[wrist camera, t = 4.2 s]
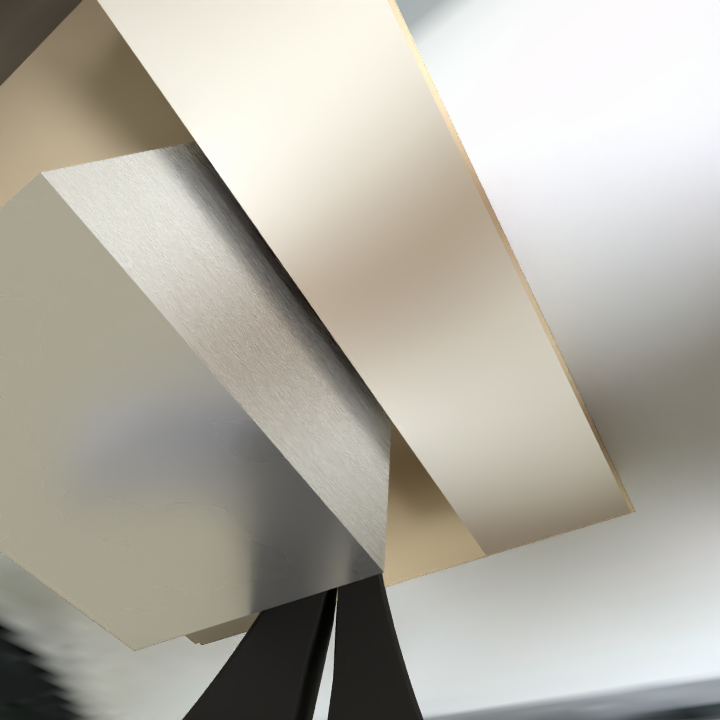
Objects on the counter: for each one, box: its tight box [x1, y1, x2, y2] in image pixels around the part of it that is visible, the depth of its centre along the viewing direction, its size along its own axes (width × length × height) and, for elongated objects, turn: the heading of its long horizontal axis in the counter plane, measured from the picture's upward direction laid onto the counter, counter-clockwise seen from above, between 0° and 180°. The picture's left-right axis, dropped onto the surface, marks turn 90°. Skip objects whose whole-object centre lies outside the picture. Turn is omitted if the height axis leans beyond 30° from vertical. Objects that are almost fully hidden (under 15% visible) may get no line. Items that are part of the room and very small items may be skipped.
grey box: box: [0, 141, 392, 651], centre depth 9 cm, size 6×8×5 cm
